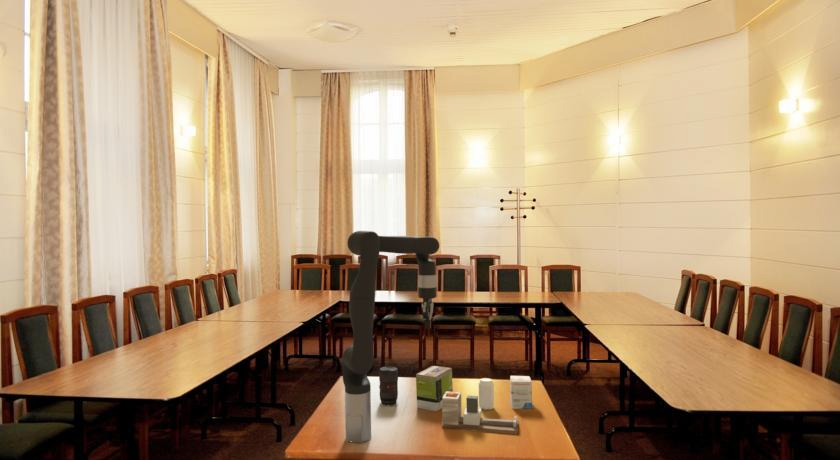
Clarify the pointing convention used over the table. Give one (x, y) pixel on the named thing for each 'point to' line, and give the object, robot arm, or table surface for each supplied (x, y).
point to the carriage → (472, 411)
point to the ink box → (521, 392)
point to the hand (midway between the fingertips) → (427, 328)
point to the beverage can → (486, 394)
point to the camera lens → (388, 385)
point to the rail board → (455, 421)
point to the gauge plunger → (451, 394)
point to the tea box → (433, 387)
